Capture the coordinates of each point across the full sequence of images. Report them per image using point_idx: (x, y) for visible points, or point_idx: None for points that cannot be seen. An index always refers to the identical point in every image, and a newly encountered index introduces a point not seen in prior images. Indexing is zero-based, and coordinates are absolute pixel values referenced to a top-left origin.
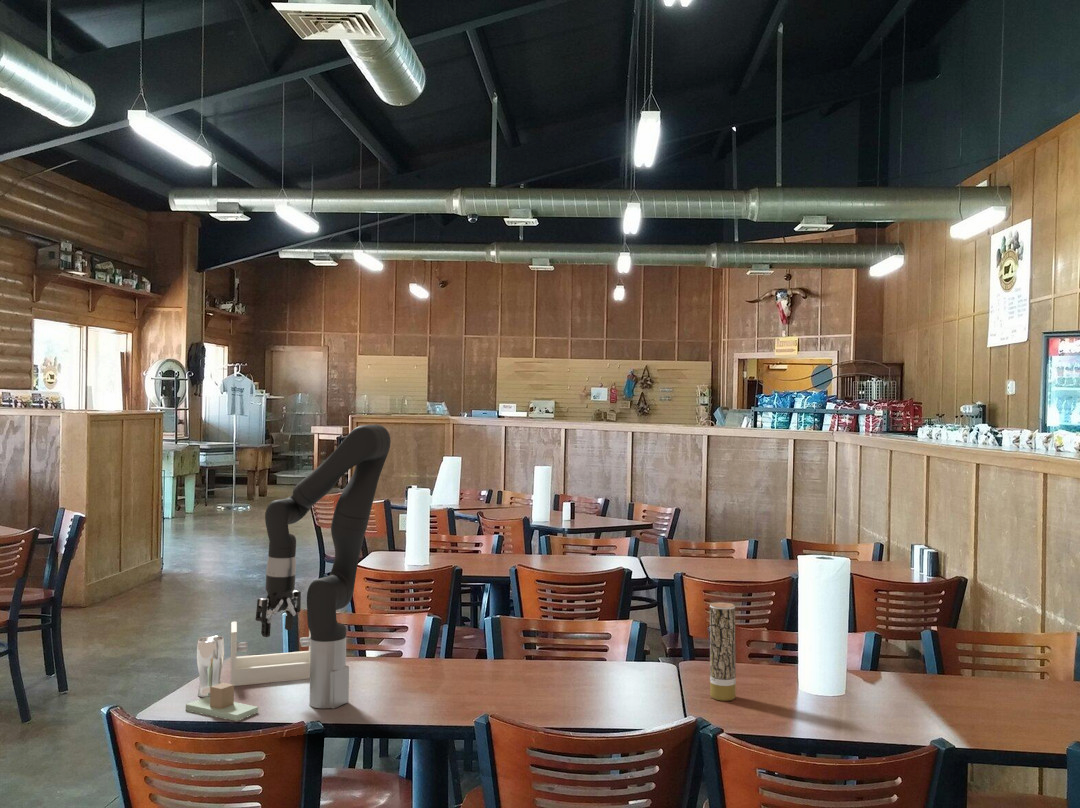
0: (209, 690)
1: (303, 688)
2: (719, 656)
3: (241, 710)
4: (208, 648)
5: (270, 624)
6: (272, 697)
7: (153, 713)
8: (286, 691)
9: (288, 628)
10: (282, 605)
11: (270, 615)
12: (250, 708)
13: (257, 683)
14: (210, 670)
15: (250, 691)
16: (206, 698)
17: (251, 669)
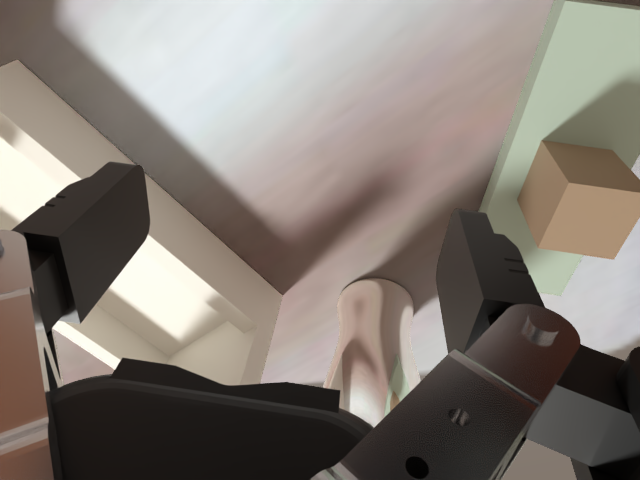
0: (404, 307)
1: (163, 24)
2: None
3: (632, 47)
4: None
5: (484, 284)
6: (329, 81)
7: (593, 341)
8: (235, 74)
9: (139, 198)
10: (186, 468)
11: (535, 391)
12: (594, 24)
13: (216, 237)
14: (411, 362)
15: (299, 209)
16: None
17: (217, 287)
